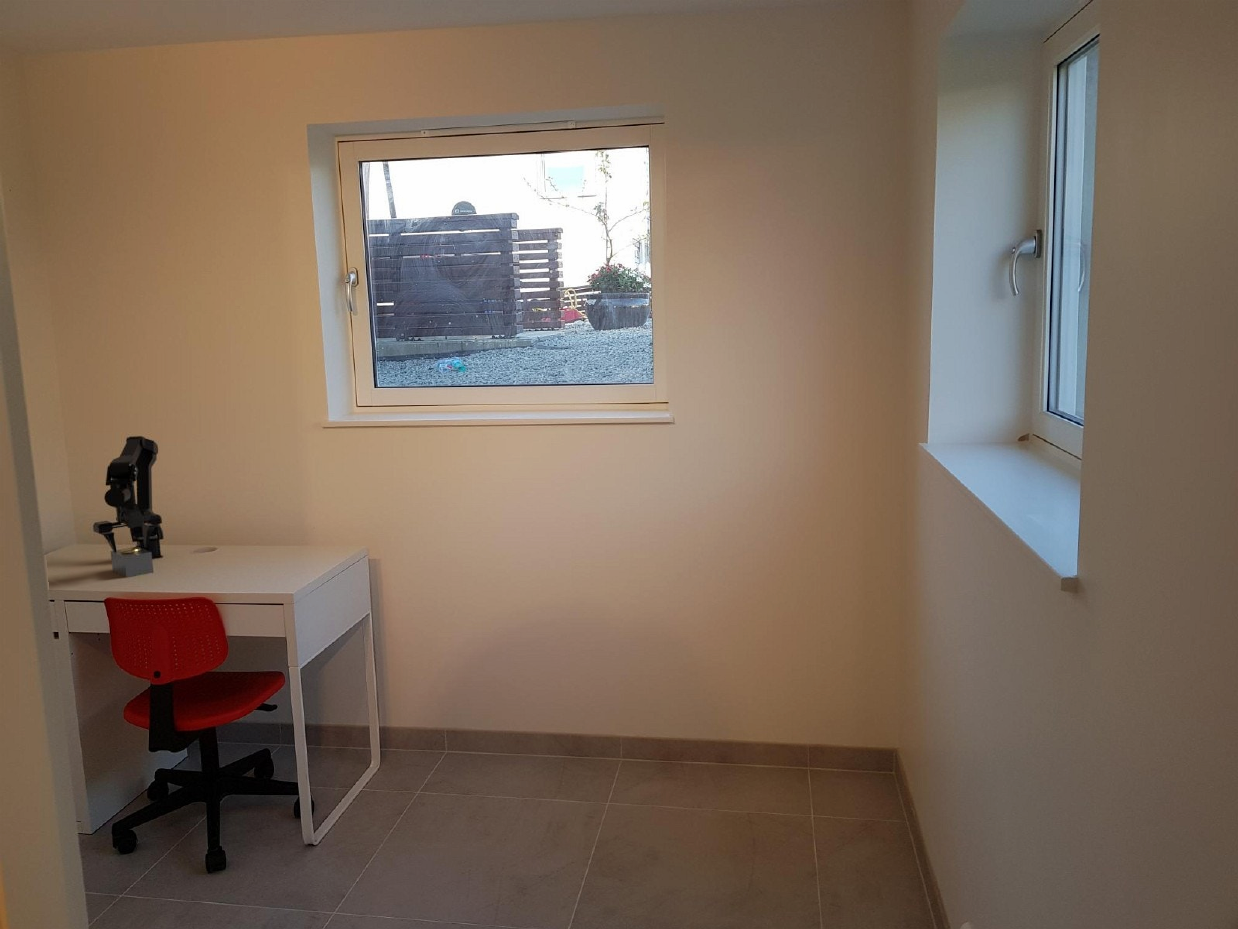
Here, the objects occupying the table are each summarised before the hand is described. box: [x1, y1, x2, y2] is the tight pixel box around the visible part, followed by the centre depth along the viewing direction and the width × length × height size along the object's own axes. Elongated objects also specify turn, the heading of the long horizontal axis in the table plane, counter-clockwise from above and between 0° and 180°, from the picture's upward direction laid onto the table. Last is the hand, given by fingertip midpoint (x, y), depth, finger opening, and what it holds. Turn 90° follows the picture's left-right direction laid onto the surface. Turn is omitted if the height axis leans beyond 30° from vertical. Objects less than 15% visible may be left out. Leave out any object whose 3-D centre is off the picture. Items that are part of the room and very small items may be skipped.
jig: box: [110, 548, 154, 578], centre depth 311 cm, size 8×12×6 cm, turn 45°
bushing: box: [120, 546, 141, 554], centre depth 311 cm, size 6×6×7 cm
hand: (130, 550), depth 310 cm, fingers open, 9 cm apart
